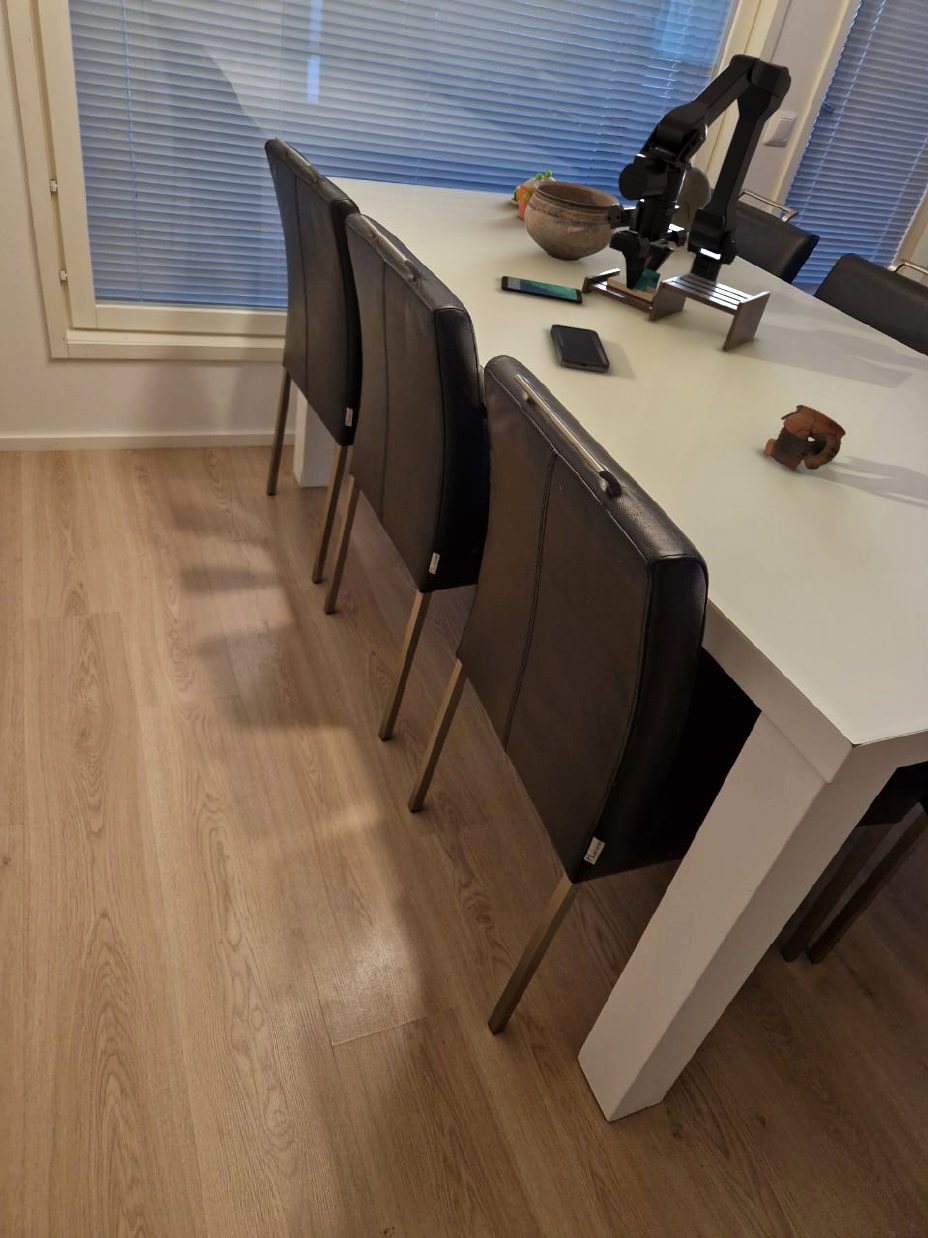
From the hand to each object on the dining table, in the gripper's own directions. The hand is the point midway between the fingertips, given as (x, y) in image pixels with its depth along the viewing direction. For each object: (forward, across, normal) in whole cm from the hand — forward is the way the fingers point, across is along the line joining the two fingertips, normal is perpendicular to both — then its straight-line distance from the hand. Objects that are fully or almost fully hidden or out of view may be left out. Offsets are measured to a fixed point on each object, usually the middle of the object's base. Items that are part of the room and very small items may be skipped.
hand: (636, 286), depth 162 cm
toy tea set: (+3, -36, -47) cm, 59 cm away
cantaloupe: (+3, -60, -24) cm, 65 cm away
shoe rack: (+3, 0, +7) cm, 8 cm away
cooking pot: (+3, -11, -24) cm, 26 cm away
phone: (+3, +32, +8) cm, 33 cm away
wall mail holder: (+1, 0, 0) cm, 1 cm away
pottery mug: (+3, +36, +48) cm, 60 cm away
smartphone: (+3, +14, -12) cm, 18 cm away
